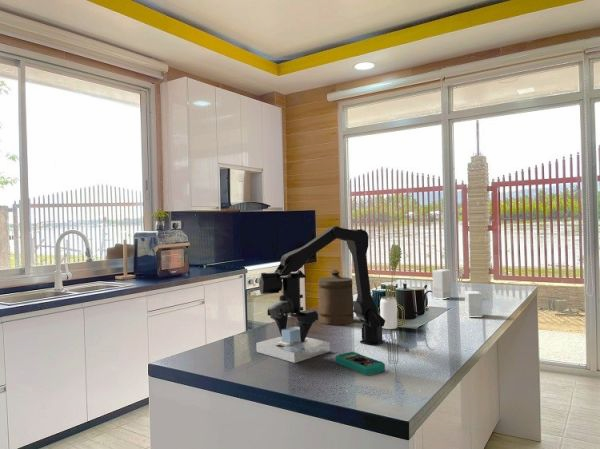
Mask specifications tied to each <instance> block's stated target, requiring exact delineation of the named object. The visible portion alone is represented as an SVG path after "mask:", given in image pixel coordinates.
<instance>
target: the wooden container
mask: <svg viewBox="0 0 600 449" xmlns="http://www.w3.org/2000/svg"><path fill="white" fill-rule="evenodd" d="M317 283H318V321H319V323H320V324H323V325H328V326H329V325H332V326H337V325H338V326H342V325H348V324H352V323H354V321H355V318H354V317H355V316H354V314H355V313H354V312H353V311H354V306H353V301H354V294H353V292H354V291H353V284H354V283H353V278H351V277H345V276H344V277H342V276H340V271H339V270H338V269H333V270H331V275H330V276H329V277H327V276H326V277H321V278H319V279H318V281H317Z"/></svg>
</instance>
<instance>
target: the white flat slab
mask: <svg viewBox="0 0 600 449" xmlns="http://www.w3.org/2000/svg"><path fill="white" fill-rule="evenodd" d="M306 338H307V341H305V342H304V343H300V344H297V345H293V346H287V347H286V346H285V347H282V348H281V346H282V345H278V342H281V341H282V337H281V336H278V337H273V338H270V339H265V340H262V341H258V342H256V344H255V346H256V353H258V354H263V355H265V356H270V357H273V358H276V359H279V360H282V361H287V362H290V363H292V364H293V363H294V364H296V363H298V362H302V361H305V360H308V359H311V358H314V357H316V356H317V357H318V356H320V355H323V354H327V353H329V352H330V348H331V347H330V345H331V344H330V342H329V341H325V340H321V339H316V338H311V337H307V336H306Z"/></svg>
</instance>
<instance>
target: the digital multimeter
mask: <svg viewBox="0 0 600 449" xmlns="http://www.w3.org/2000/svg"><path fill="white" fill-rule="evenodd" d="M335 364H337V365H340V366H342V367H346V368H348V369H351V370H352V371H354V372H357V373H360V374H361V375H364V376H371V375H375V374H379V373H383V372H384V371H385V370H386V365H385V363H384V362H383V361H381V360H377V359H374V358H371V357H369V356H366V355H363V354H360V353H358V352H356V351H349V352H343V353H340V354H337V355H336V356H335Z"/></svg>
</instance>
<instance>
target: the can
mask: <svg viewBox="0 0 600 449" xmlns="http://www.w3.org/2000/svg"><path fill="white" fill-rule="evenodd" d="M379 301H380V302H379V305H380V306H379V307H380V309H379V310H380V311H379V312H380V314H379V315H380V316H381V317H382V318H383V319H384V320H385V323H384V326H383V327H382V330H383V329H384V330H396V329H397V328H398V306H397V305H398V304H397V303H398V302H397V300H396V297H395V296H391V295H390V296H388V295H387V296H381V297H380V300H379Z"/></svg>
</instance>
